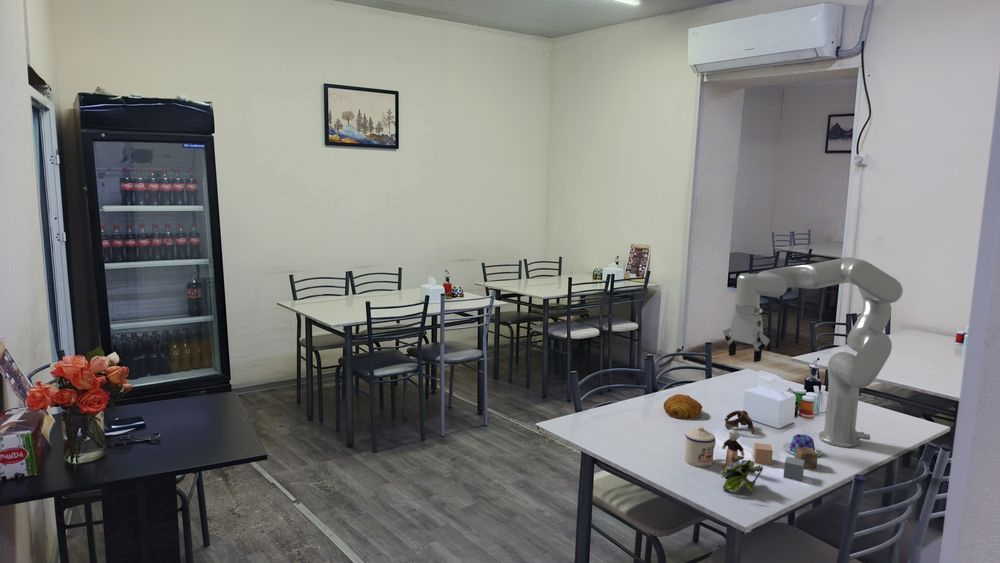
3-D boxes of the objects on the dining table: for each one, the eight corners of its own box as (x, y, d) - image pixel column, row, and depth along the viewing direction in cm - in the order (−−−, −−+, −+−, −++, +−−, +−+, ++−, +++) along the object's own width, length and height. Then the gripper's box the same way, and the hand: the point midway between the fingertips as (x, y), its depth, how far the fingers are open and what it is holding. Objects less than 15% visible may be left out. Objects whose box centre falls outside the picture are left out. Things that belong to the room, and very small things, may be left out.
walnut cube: (810, 462, 207) (811, 447, 206) (816, 469, 202) (817, 454, 201) (794, 461, 208) (795, 447, 207) (799, 468, 203) (801, 453, 202)
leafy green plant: (734, 499, 192) (749, 463, 195) (761, 510, 182) (777, 472, 185) (708, 483, 189) (724, 446, 192) (734, 493, 179) (751, 454, 182)
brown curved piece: (754, 439, 227) (743, 419, 226) (729, 444, 233) (719, 425, 232) (759, 420, 237) (749, 401, 236) (735, 426, 242) (725, 407, 241)
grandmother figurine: (717, 466, 203) (719, 428, 201) (722, 462, 206) (725, 425, 204) (741, 474, 198) (744, 434, 196) (746, 470, 200) (749, 431, 198)
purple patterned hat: (777, 444, 222) (778, 429, 221) (811, 445, 222) (813, 430, 221) (791, 458, 210) (792, 443, 209) (828, 459, 210) (829, 444, 209)
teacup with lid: (700, 470, 200) (702, 434, 198) (677, 459, 207) (679, 425, 206) (725, 461, 206) (727, 427, 205) (702, 451, 214) (704, 418, 212)
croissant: (658, 419, 249) (657, 401, 247) (672, 403, 261) (672, 385, 259) (694, 427, 241) (694, 408, 239) (707, 410, 253) (707, 392, 251)
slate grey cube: (803, 475, 198) (804, 460, 197) (801, 481, 193) (802, 466, 193) (785, 471, 200) (786, 456, 199) (783, 477, 196) (784, 462, 195)
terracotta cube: (769, 459, 209) (770, 444, 208) (771, 465, 204) (772, 450, 204) (753, 457, 210) (754, 442, 210) (754, 463, 206) (755, 448, 205)
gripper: (776, 312, 214) (773, 362, 217) (731, 304, 228) (729, 351, 231) (763, 315, 210) (760, 365, 212) (718, 307, 224) (716, 354, 226)
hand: (744, 358), depth 221 cm, fingers open, 9 cm apart
